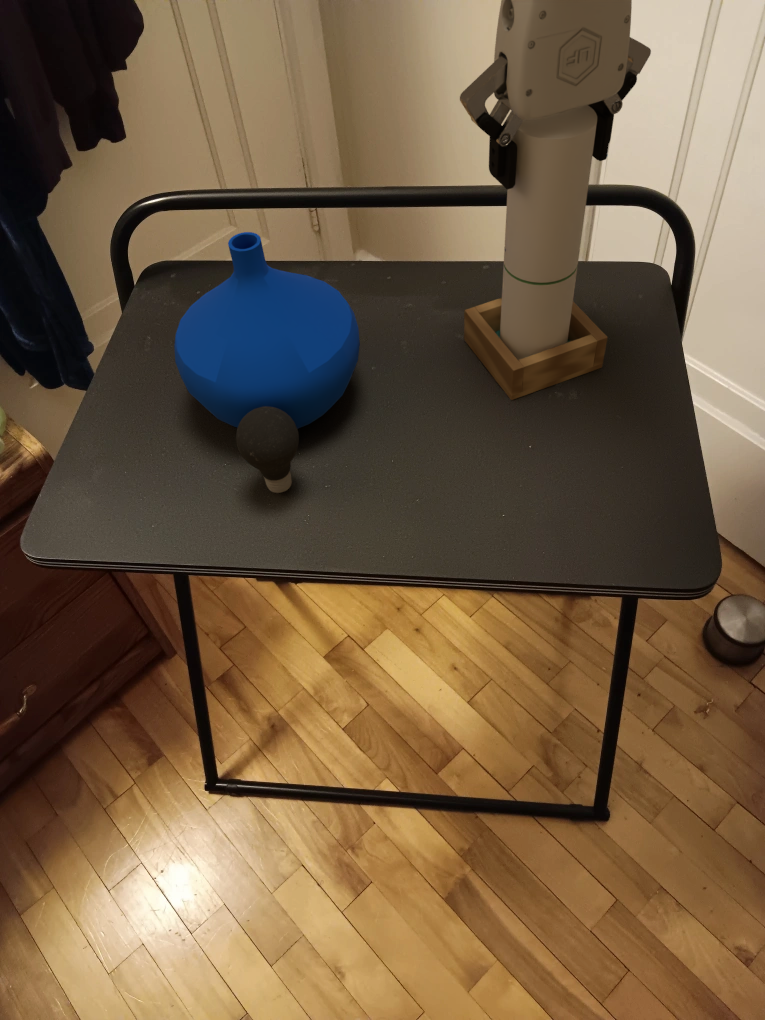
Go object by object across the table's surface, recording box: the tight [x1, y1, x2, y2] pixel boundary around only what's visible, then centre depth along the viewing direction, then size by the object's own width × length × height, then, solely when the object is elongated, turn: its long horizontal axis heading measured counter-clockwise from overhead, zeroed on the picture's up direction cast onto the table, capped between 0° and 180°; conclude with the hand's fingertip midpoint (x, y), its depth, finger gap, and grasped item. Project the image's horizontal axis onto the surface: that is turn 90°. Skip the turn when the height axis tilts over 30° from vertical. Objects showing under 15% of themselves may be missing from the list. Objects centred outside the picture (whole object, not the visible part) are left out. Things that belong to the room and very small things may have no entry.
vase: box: [173, 231, 361, 430], centre depth 81 cm, size 18×18×19 cm
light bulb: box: [235, 406, 300, 494], centre depth 76 cm, size 6×6×10 cm
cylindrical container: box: [500, 105, 597, 360], centre depth 79 cm, size 7×7×25 cm
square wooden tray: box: [463, 297, 608, 401], centre depth 88 cm, size 11×11×4 cm
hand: (548, 167), depth 73 cm, fingers open, 8 cm apart
